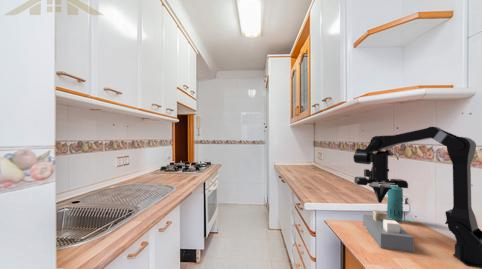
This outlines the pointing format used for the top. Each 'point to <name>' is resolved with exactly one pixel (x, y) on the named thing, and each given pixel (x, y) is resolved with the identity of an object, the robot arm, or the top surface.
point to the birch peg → (379, 215)
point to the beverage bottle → (395, 203)
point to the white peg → (391, 226)
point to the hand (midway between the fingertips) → (379, 202)
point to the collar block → (388, 235)
